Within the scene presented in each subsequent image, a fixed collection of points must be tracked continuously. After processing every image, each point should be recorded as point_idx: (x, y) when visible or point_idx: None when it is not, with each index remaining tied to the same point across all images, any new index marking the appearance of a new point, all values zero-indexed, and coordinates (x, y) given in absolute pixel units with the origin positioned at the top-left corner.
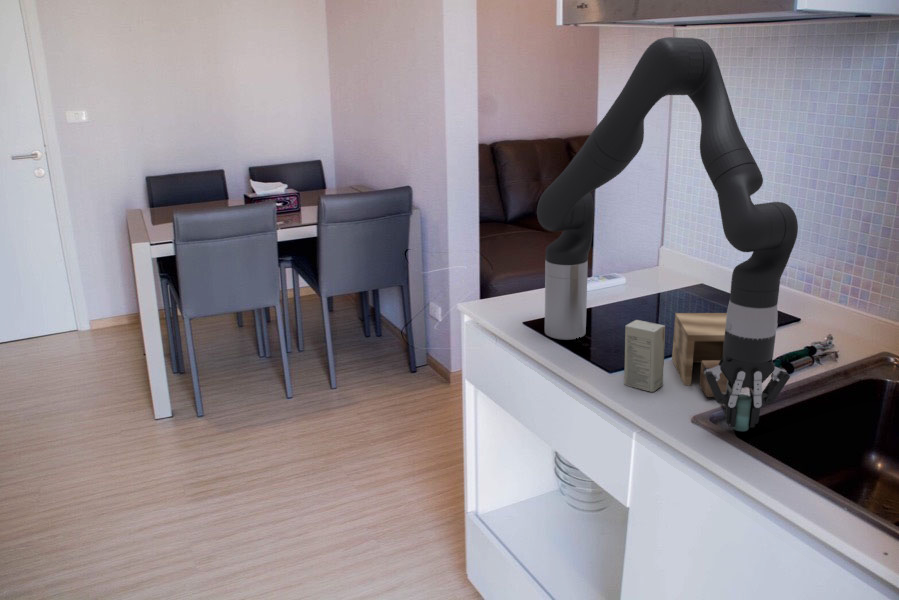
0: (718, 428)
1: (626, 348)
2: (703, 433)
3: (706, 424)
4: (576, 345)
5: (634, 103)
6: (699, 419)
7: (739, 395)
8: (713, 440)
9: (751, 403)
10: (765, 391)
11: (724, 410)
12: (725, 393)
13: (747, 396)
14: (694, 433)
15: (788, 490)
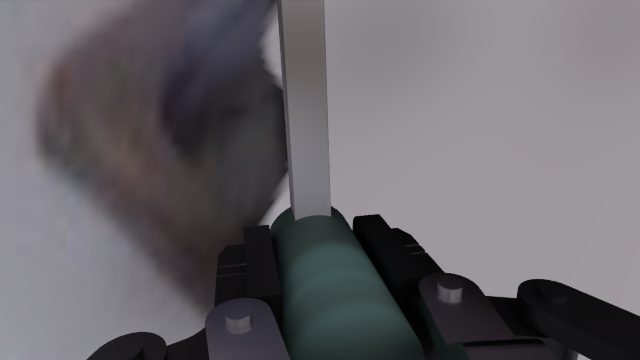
0: (201, 210)
1: None
2: (110, 271)
3: (136, 172)
4: None
5: None
6: (96, 111)
7: (339, 341)
8: (158, 328)
9: (409, 322)
10: (572, 343)
11: (216, 286)
12: (210, 355)
13: (401, 345)
14: (58, 278)
15: None
